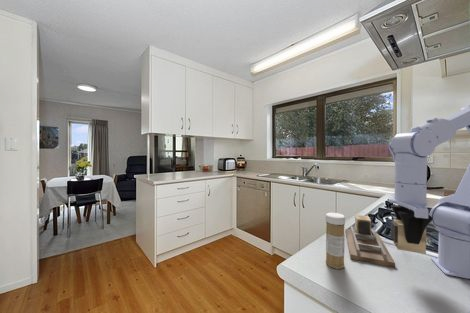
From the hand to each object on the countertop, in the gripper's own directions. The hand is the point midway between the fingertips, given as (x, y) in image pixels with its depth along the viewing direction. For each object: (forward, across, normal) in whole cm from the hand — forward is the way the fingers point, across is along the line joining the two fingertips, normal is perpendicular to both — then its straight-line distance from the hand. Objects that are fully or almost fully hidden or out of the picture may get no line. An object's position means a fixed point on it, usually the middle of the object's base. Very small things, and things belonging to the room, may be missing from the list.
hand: (409, 238), depth 48 cm
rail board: (+9, -13, -7) cm, 17 cm away
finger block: (+2, 0, 0) cm, 2 cm away
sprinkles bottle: (+9, +2, -16) cm, 19 cm away
